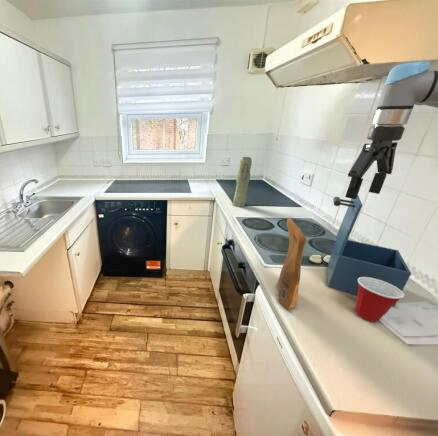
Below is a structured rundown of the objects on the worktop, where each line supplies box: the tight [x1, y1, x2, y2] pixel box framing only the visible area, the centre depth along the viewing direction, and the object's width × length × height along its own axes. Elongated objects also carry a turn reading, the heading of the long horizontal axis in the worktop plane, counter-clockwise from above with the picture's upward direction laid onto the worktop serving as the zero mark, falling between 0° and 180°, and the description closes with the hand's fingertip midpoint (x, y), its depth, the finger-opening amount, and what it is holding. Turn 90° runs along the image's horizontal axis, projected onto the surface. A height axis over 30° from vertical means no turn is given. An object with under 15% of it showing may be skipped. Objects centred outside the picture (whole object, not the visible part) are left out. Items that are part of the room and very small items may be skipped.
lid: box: [332, 194, 363, 255], centre depth 90 cm, size 19×18×7 cm
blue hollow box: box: [326, 238, 412, 308], centre depth 90 cm, size 19×18×14 cm
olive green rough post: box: [232, 156, 253, 208], centre depth 171 cm, size 9×12×35 cm
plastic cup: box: [355, 277, 406, 323], centre depth 76 cm, size 11×11×12 cm
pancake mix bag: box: [277, 216, 308, 312], centre depth 81 cm, size 7×19×28 cm, turn 156°
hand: (362, 195), depth 77 cm, fingers open, 13 cm apart
